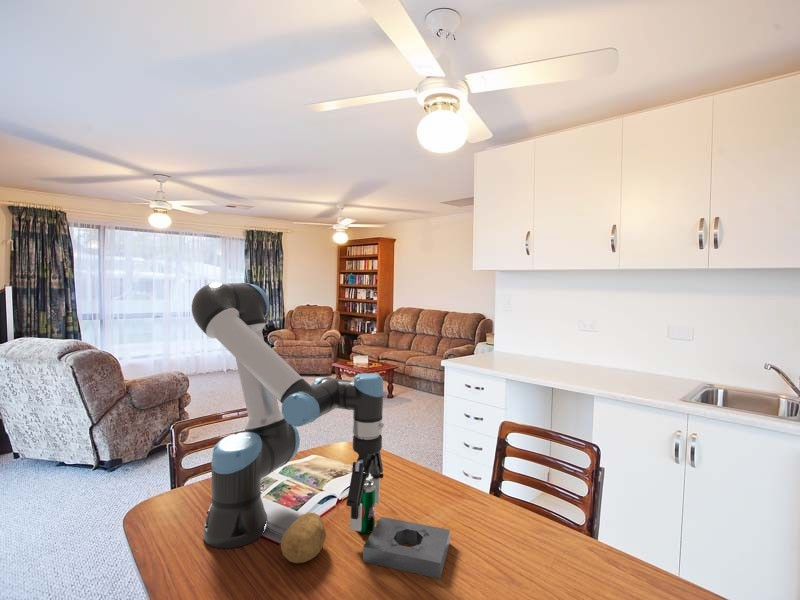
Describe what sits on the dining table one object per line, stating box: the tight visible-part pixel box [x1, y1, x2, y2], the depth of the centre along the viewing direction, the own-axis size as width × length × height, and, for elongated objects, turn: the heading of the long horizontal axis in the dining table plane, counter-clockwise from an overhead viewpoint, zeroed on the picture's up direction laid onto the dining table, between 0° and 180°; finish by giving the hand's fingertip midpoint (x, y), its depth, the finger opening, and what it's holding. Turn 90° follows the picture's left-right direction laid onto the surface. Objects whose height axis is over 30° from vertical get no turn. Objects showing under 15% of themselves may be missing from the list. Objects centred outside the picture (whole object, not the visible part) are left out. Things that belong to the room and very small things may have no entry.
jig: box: [362, 516, 451, 579], centre depth 99 cm, size 18×13×4 cm
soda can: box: [357, 479, 377, 535], centre depth 108 cm, size 5×5×12 cm
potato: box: [280, 512, 327, 564], centre depth 97 cm, size 10×14×8 cm
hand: (365, 515), depth 108 cm, fingers open, 13 cm apart
